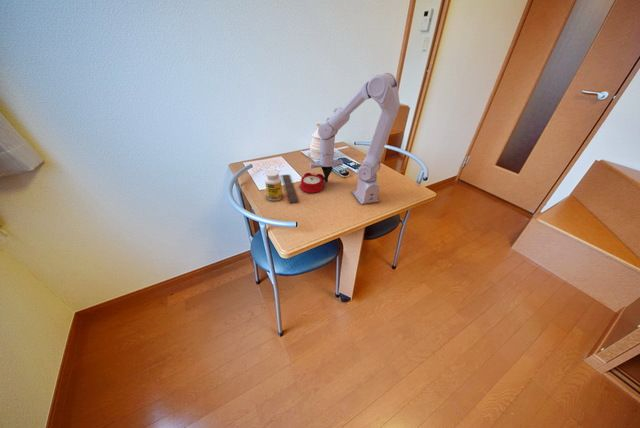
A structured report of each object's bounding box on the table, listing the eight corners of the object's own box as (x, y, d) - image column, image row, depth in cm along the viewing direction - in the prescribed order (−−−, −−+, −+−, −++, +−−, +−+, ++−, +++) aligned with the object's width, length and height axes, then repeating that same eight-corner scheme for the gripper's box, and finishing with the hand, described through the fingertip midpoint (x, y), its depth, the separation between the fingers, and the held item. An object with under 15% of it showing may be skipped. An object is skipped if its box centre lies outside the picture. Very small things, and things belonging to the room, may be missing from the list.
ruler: (297, 202, 89) (297, 201, 88) (290, 203, 88) (290, 202, 88) (288, 175, 107) (288, 174, 107) (282, 176, 106) (282, 175, 106)
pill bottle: (268, 202, 88) (264, 177, 82) (266, 194, 93) (263, 170, 86) (283, 200, 90) (281, 175, 83) (281, 192, 94) (279, 168, 88)
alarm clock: (296, 185, 92) (304, 164, 101) (297, 196, 97) (305, 174, 106) (320, 188, 91) (326, 166, 100) (321, 199, 95) (326, 176, 105)
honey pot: (310, 159, 123) (310, 126, 112) (309, 150, 134) (309, 119, 123) (332, 159, 124) (335, 126, 113) (330, 150, 135) (331, 119, 124)
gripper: (340, 147, 97) (337, 175, 105) (308, 150, 94) (308, 178, 102) (345, 153, 91) (343, 182, 100) (312, 156, 88) (312, 186, 96)
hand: (325, 181), depth 100 cm, fingers closed, pressing on alarm clock
